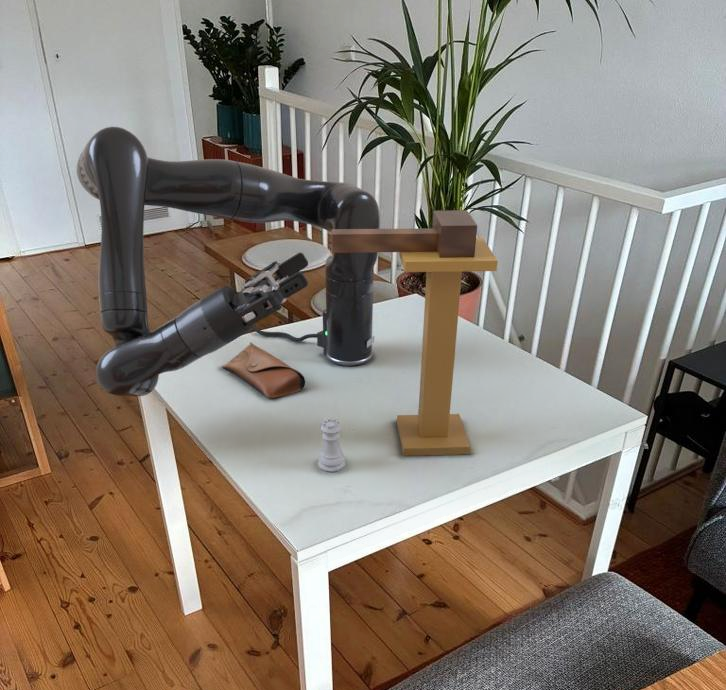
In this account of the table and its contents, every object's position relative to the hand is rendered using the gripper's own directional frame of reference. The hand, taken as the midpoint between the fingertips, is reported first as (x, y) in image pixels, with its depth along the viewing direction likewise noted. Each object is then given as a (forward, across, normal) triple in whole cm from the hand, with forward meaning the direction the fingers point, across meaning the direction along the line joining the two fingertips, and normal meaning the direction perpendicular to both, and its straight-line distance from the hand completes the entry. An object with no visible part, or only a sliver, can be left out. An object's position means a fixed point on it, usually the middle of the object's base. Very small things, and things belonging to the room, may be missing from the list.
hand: (305, 267), depth 107 cm
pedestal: (+3, 0, +36) cm, 36 cm away
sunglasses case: (-23, +24, +21) cm, 39 cm away
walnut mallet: (+13, 0, +5) cm, 14 cm away
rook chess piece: (-12, -8, +27) cm, 31 cm away
